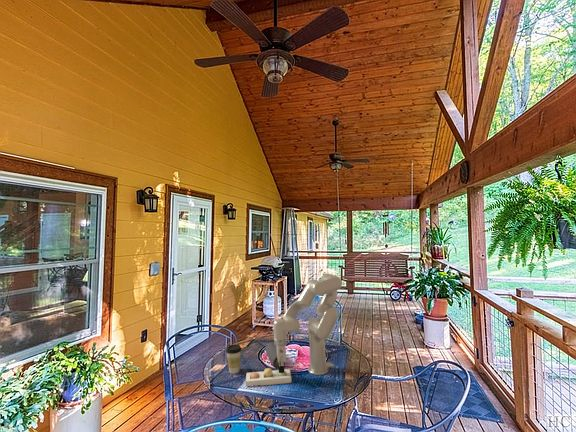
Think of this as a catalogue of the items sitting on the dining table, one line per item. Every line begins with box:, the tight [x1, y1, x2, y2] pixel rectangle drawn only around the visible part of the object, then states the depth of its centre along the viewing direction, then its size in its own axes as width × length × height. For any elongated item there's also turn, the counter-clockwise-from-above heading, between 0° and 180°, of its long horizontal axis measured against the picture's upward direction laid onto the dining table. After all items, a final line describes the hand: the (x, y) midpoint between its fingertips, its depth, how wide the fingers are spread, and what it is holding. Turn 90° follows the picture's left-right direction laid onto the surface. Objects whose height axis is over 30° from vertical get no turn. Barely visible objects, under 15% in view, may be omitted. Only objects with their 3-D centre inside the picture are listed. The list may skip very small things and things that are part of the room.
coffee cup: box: [225, 344, 243, 375], centre depth 190 cm, size 10×10×15 cm
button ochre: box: [263, 367, 273, 377], centre depth 177 cm, size 4×4×3 cm
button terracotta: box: [251, 373, 259, 379], centre depth 176 cm, size 4×4×3 cm
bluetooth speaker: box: [265, 342, 286, 370], centre depth 198 cm, size 23×9×10 cm, turn 16°
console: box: [245, 368, 292, 387], centre depth 177 cm, size 26×10×3 cm, turn 95°
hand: (281, 372), depth 178 cm, fingers closed
